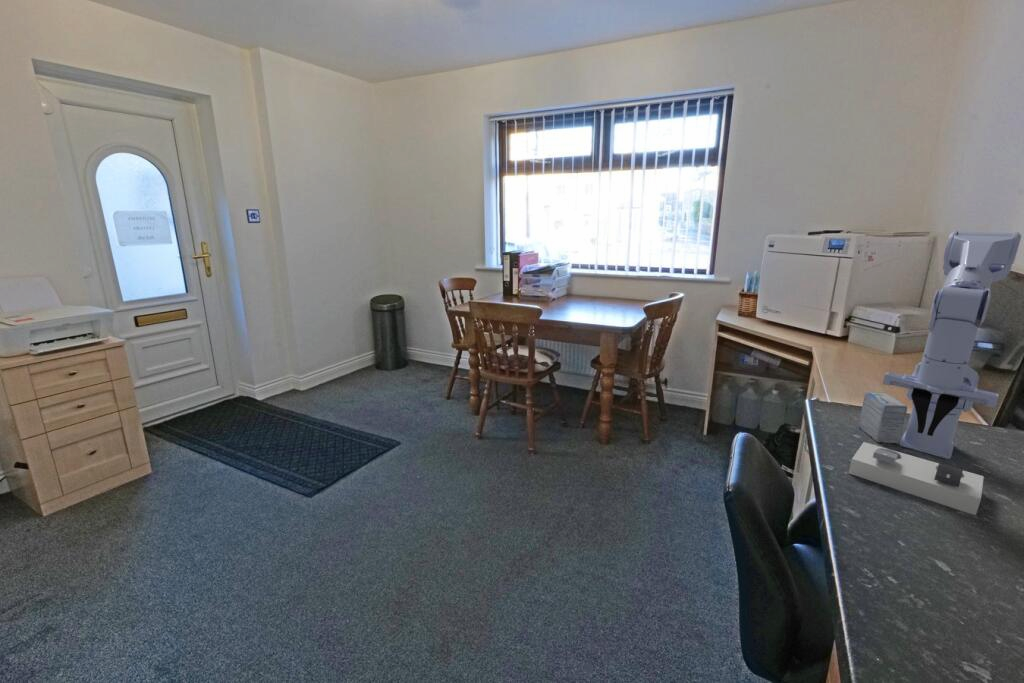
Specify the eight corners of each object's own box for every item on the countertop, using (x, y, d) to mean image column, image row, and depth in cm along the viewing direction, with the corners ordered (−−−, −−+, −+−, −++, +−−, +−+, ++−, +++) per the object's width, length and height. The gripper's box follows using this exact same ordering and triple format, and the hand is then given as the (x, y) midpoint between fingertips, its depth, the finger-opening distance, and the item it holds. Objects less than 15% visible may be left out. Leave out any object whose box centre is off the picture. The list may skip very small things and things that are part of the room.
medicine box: (899, 445, 97) (909, 406, 95) (875, 442, 98) (884, 404, 96) (878, 429, 105) (887, 393, 103) (856, 427, 106) (864, 391, 104)
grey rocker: (876, 453, 86) (877, 448, 86) (896, 459, 84) (898, 454, 84) (872, 457, 84) (874, 451, 83) (893, 463, 81) (895, 458, 81)
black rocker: (937, 467, 80) (939, 462, 80) (961, 474, 78) (963, 469, 78) (934, 479, 78) (935, 474, 78) (958, 487, 76) (960, 481, 75)
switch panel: (860, 455, 93) (863, 441, 92) (978, 491, 81) (984, 475, 80) (848, 473, 86) (852, 457, 85) (975, 515, 74) (981, 497, 73)
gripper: (886, 353, 80) (870, 425, 84) (1006, 374, 70) (981, 455, 74) (894, 346, 85) (877, 415, 89) (1007, 365, 75) (983, 441, 79)
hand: (925, 432), depth 82 cm, fingers closed
